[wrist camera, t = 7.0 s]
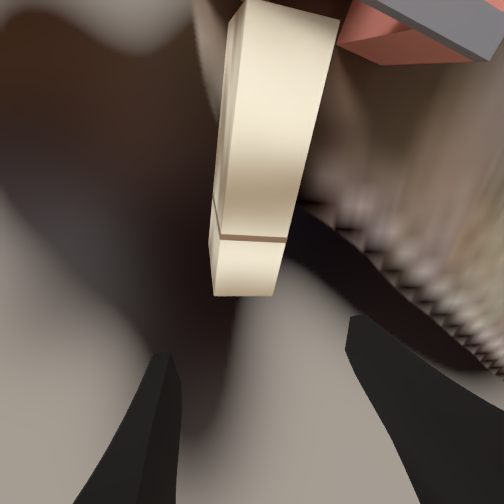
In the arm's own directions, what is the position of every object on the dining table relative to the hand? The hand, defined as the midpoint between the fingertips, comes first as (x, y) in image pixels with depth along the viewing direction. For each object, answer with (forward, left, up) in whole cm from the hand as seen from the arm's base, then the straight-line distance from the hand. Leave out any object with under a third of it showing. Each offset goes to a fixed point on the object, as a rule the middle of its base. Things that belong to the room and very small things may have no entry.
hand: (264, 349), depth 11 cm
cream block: (+2, -5, -10) cm, 11 cm away
